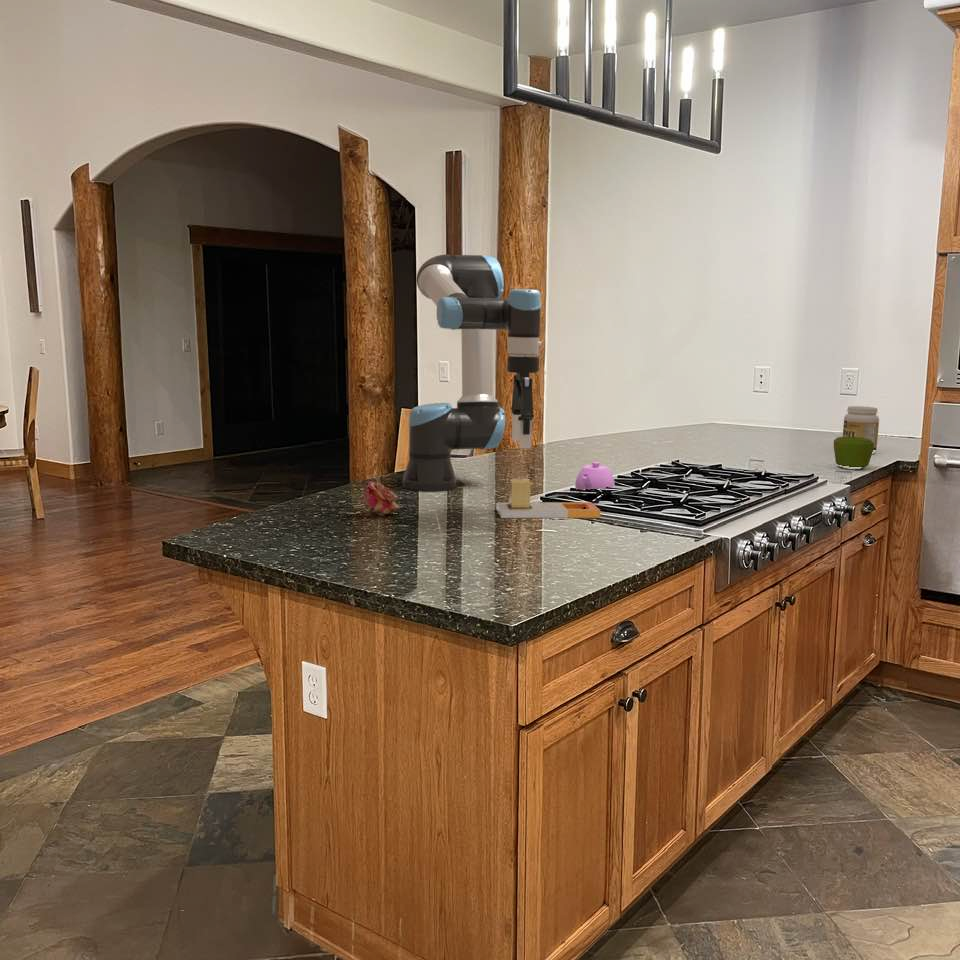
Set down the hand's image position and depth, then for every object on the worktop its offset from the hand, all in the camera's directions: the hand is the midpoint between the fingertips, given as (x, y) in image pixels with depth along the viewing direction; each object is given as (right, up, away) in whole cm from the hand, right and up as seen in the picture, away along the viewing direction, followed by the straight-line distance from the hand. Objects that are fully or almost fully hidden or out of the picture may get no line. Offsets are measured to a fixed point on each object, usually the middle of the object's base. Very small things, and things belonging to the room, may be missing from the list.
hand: (521, 444), depth 234 cm
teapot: (+21, -13, +31) cm, 40 cm away
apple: (+114, -5, +90) cm, 145 cm away
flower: (-33, -17, +2) cm, 38 cm away
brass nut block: (0, -17, +3) cm, 17 cm away
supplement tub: (+131, +1, +128) cm, 183 cm away
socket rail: (+7, -17, +4) cm, 19 cm away
